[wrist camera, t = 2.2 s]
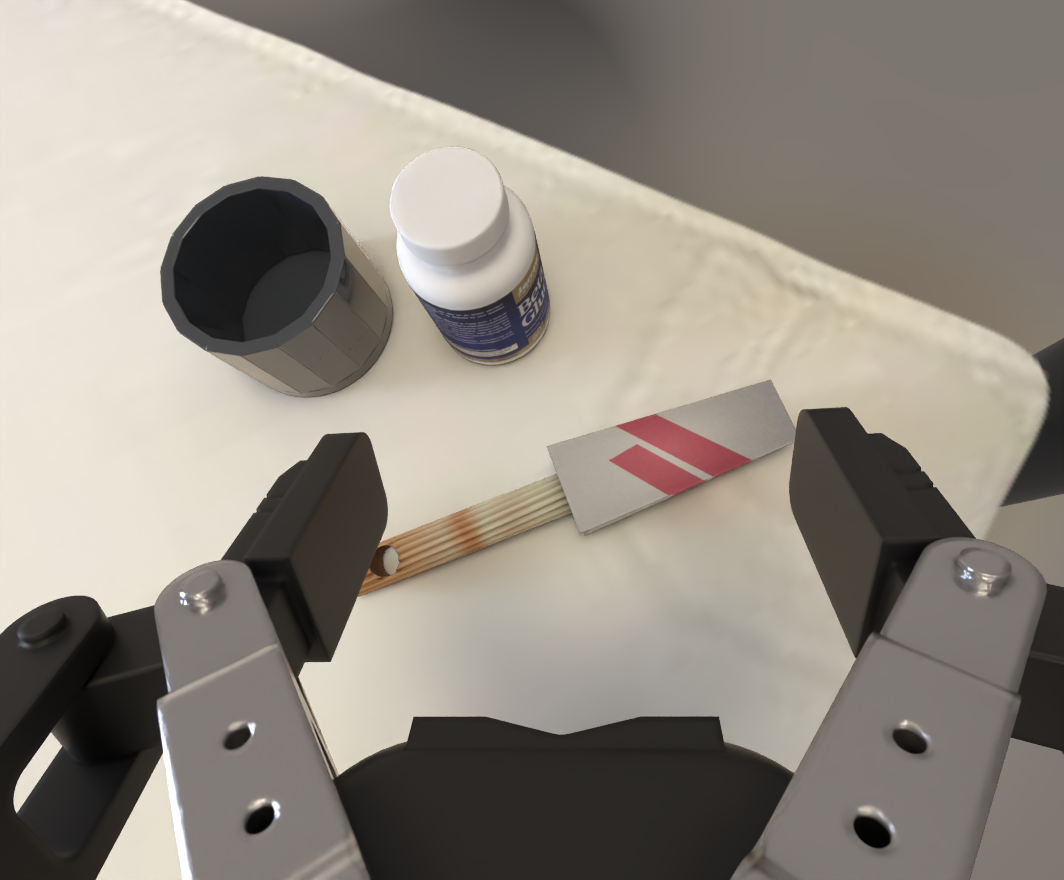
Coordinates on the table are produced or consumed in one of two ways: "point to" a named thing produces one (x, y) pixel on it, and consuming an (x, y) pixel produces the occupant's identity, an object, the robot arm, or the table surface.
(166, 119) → the table surface
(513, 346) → the pill bottle
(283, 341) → the holder
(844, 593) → the robot arm
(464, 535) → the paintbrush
